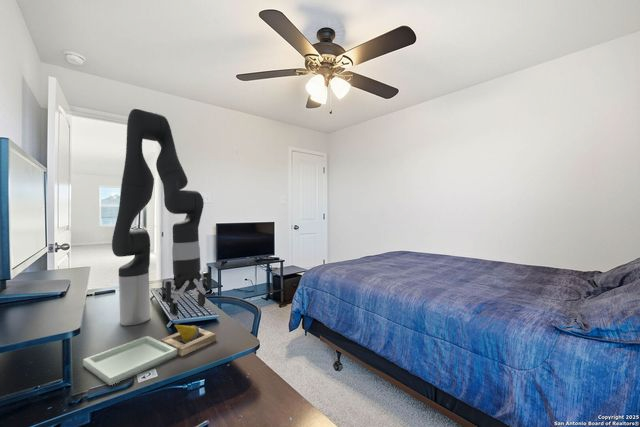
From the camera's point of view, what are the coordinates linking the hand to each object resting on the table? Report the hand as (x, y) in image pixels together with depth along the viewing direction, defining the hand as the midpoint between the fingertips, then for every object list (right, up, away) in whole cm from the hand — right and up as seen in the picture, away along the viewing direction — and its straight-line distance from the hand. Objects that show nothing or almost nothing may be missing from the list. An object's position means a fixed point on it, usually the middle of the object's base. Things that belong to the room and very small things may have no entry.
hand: (188, 310), depth 87 cm
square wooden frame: (0, -10, 0) cm, 10 cm away
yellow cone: (0, -10, 0) cm, 10 cm away
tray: (-11, -10, -9) cm, 18 cm away
